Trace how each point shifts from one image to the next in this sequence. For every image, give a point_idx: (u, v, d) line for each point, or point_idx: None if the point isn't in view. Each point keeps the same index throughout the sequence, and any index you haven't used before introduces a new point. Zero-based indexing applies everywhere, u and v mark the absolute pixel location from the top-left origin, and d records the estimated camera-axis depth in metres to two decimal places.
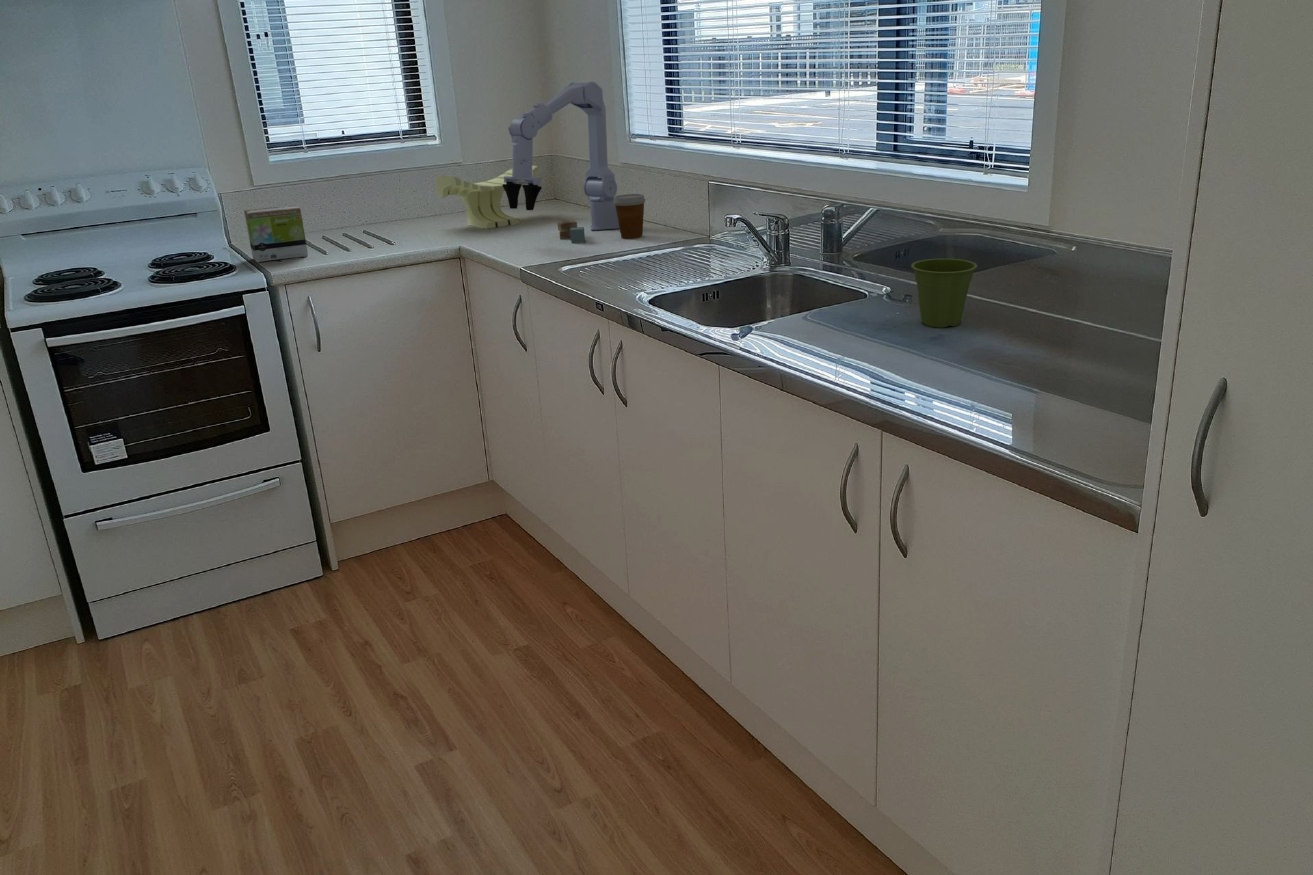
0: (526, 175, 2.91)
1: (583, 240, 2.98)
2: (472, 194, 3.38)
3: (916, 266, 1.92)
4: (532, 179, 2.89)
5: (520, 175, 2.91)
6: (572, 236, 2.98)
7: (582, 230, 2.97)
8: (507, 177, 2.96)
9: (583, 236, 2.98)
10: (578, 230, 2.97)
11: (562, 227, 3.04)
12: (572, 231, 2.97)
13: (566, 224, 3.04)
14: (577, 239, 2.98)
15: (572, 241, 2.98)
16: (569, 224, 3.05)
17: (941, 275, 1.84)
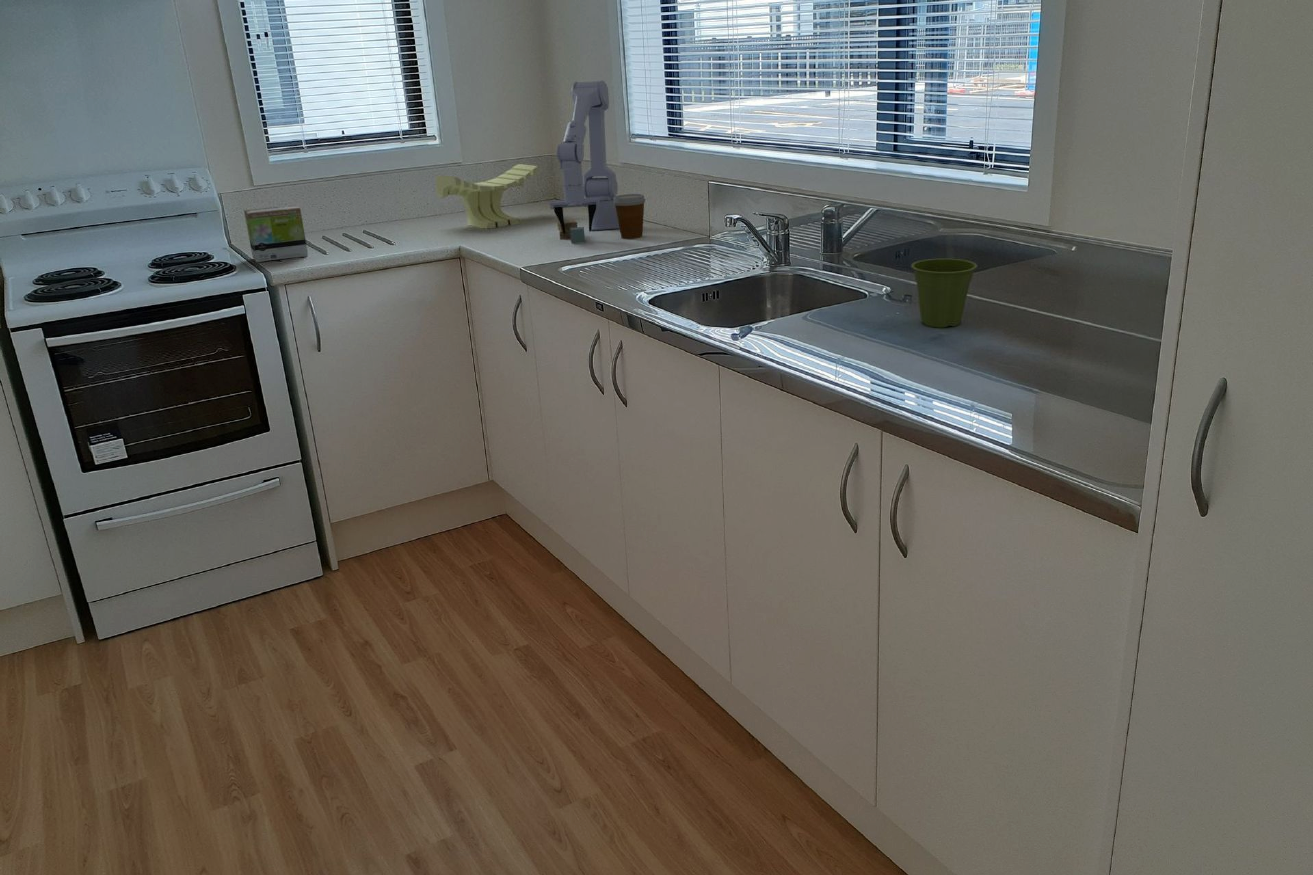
0: (583, 198, 2.95)
1: (583, 240, 2.98)
2: (472, 194, 3.38)
3: (916, 266, 1.92)
4: (595, 201, 2.95)
5: (581, 198, 2.94)
6: (572, 236, 2.98)
7: (582, 230, 2.97)
8: (557, 203, 2.94)
9: (583, 236, 2.98)
10: (578, 230, 2.97)
11: None
12: (572, 231, 2.97)
13: (566, 224, 3.05)
14: (577, 239, 2.98)
15: (572, 241, 2.98)
16: (569, 224, 3.05)
17: (941, 275, 1.84)
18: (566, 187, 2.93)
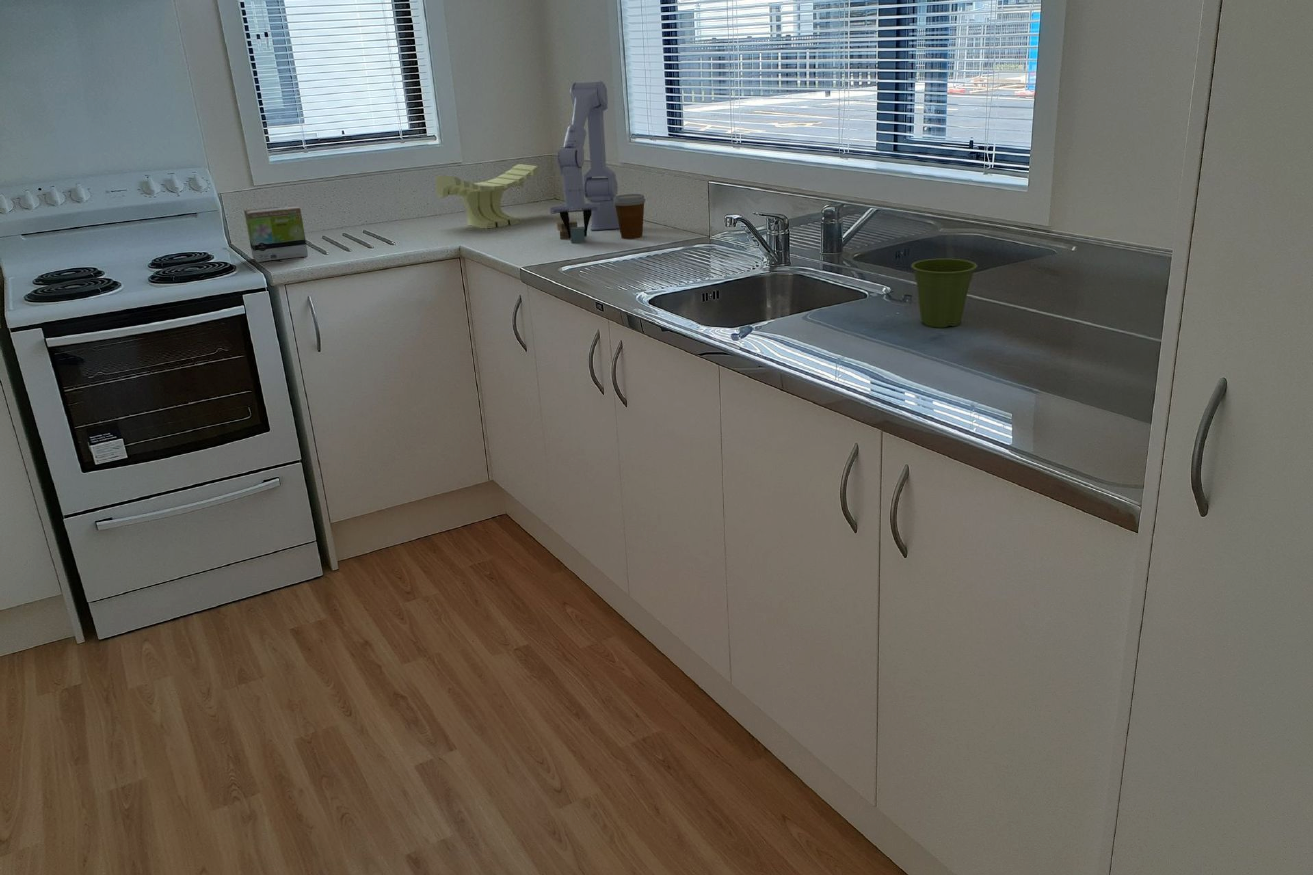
0: (584, 203, 2.96)
1: (583, 240, 2.98)
2: (472, 194, 3.38)
3: (916, 266, 1.92)
4: (595, 206, 2.96)
5: (581, 204, 2.94)
6: (572, 236, 2.98)
7: (582, 230, 2.97)
8: (557, 208, 2.95)
9: (583, 236, 2.98)
10: (578, 230, 2.97)
11: (562, 227, 3.05)
12: (572, 231, 2.97)
13: None
14: (577, 239, 2.98)
15: (572, 241, 2.98)
16: (569, 224, 3.05)
17: (941, 275, 1.84)
18: (566, 192, 2.93)
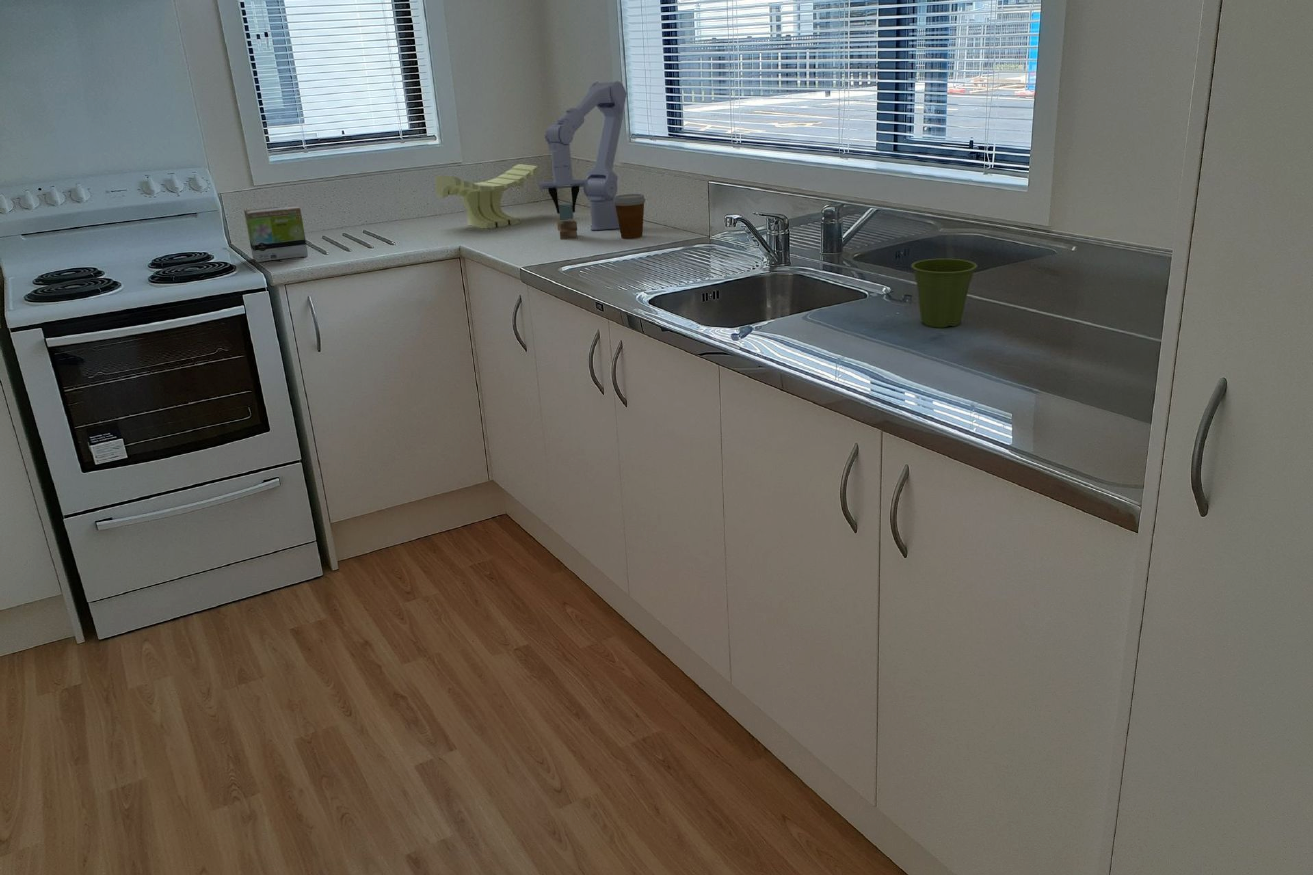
0: (572, 179, 3.02)
1: (571, 216, 3.04)
2: (472, 194, 3.38)
3: (916, 266, 1.92)
4: (583, 182, 3.02)
5: (569, 180, 3.01)
6: (560, 212, 3.03)
7: (570, 206, 3.03)
8: (546, 184, 3.01)
9: (571, 212, 3.04)
10: (566, 206, 3.03)
11: (562, 227, 3.05)
12: (560, 207, 3.03)
13: (566, 224, 3.05)
14: (565, 215, 3.04)
15: (560, 217, 3.04)
16: (569, 224, 3.05)
17: (941, 275, 1.84)
18: (555, 168, 2.99)
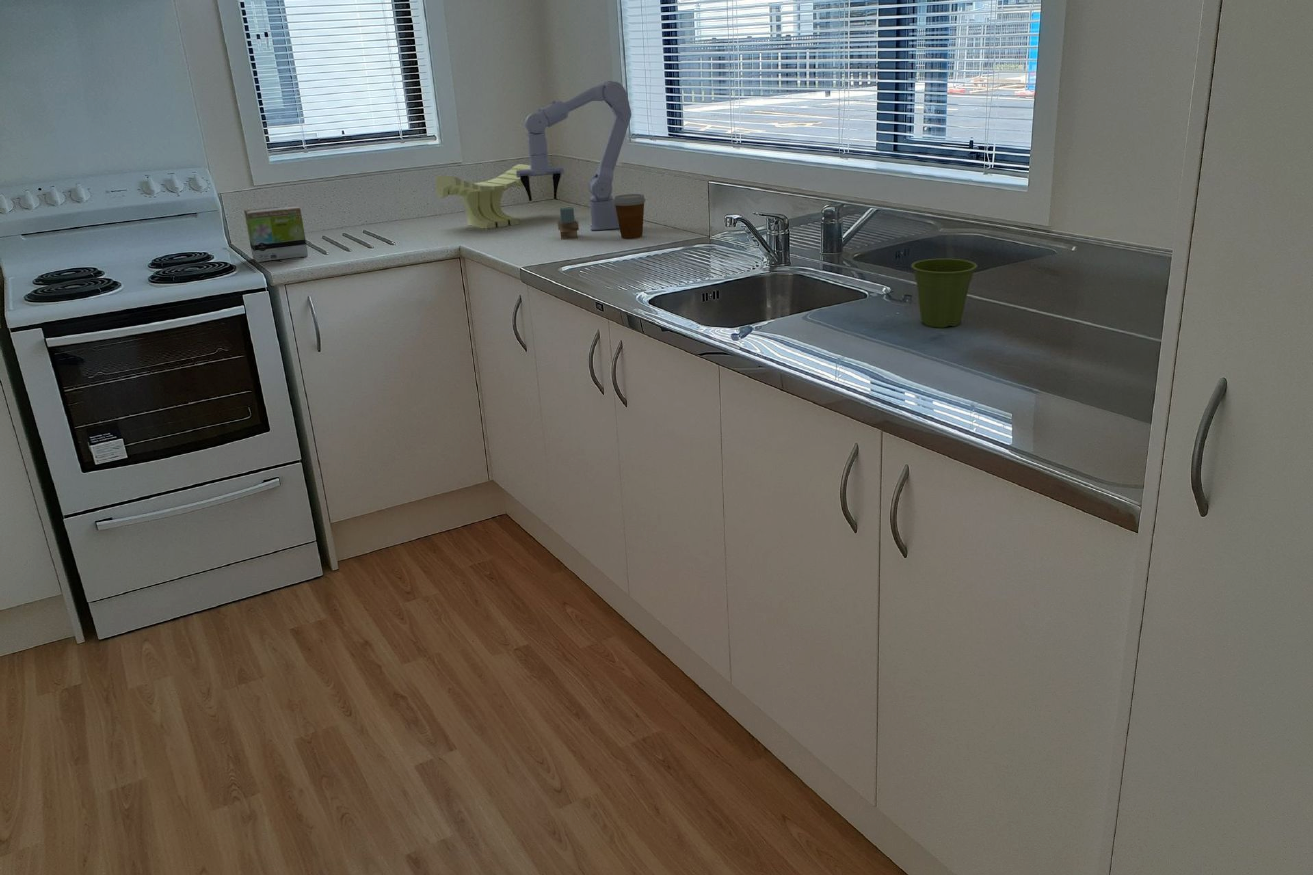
0: (548, 167, 3.10)
1: (573, 220, 3.05)
2: (472, 194, 3.38)
3: (916, 266, 1.92)
4: (559, 169, 3.10)
5: (545, 167, 3.08)
6: (562, 216, 3.04)
7: (572, 210, 3.04)
8: (523, 172, 3.09)
9: (573, 216, 3.04)
10: (568, 210, 3.04)
11: (564, 227, 3.05)
12: (562, 211, 3.04)
13: (567, 224, 3.05)
14: (567, 219, 3.04)
15: (562, 221, 3.05)
16: (570, 224, 3.05)
17: (941, 275, 1.84)
18: (531, 156, 3.07)
